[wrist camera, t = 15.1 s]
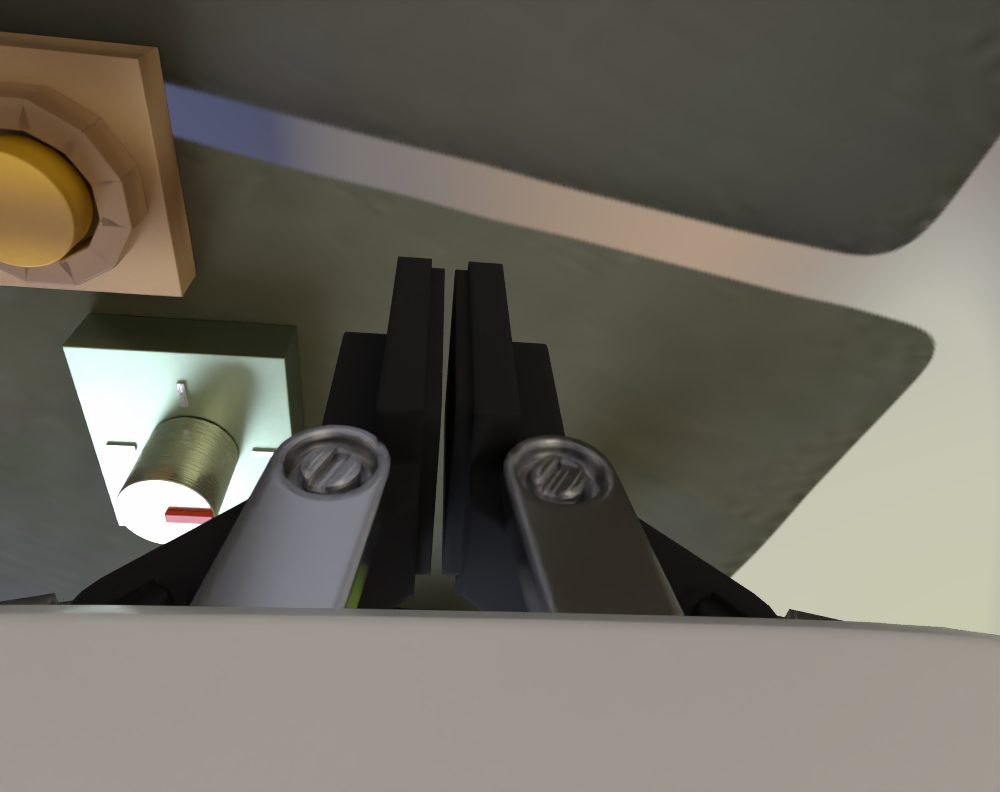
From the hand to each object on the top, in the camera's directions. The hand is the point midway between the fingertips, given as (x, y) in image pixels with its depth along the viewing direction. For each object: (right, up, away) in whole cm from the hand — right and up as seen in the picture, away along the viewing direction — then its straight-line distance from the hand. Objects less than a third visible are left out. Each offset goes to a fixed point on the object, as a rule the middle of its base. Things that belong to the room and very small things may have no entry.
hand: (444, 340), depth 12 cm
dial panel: (-15, -2, +27) cm, 31 cm away
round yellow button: (-17, +7, +16) cm, 24 cm away
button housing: (-18, +9, +18) cm, 27 cm away
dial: (-15, -4, +24) cm, 29 cm away
